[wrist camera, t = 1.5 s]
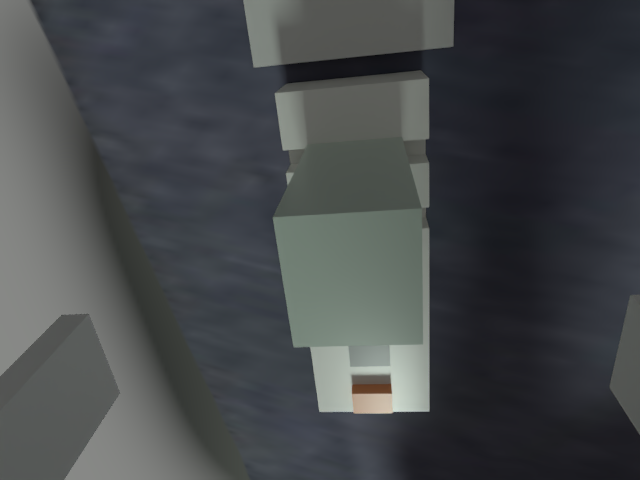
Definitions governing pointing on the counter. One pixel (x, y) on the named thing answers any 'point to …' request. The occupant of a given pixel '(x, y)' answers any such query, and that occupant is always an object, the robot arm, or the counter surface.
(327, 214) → the block
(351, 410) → the power strip
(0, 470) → the robot arm
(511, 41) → the counter surface
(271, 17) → the mat
